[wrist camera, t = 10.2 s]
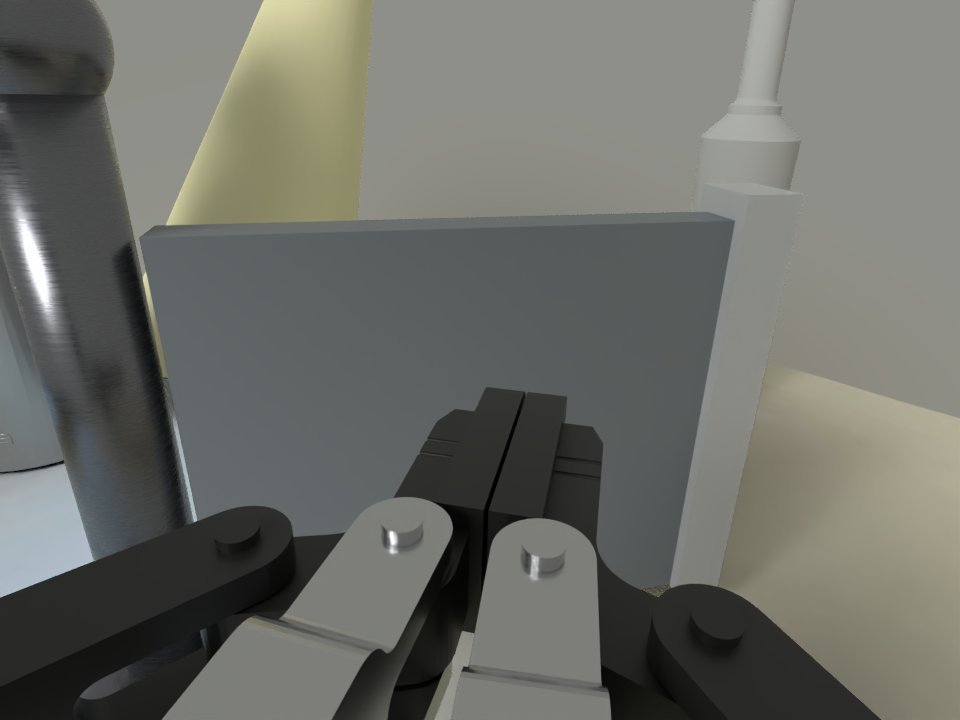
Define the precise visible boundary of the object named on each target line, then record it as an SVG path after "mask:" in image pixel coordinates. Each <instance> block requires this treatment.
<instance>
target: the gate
mask: <svg viewBox="0 0 960 720" xmlns="http://www.w3.org/2000/svg"><path fill="white" fill-rule="evenodd" d="M803 199H804V194H801V193H797V192H792V191H788V190H783V189H779V188H774V187H770V186H765V185H760V184H756V183H721V184H704V186H703V192H702V199H701V205H700V212H676V213H635V214H599V215H598V214H597V215H596V214H595V215H560V216H559V215H556V216H520V217H519V216H518V217H517V216H516V217H477V218H439V219H438V218H437V219H399V220H359V221H319V222H280V223H240V224H201V225H162V226H154V227H153V228H152V229H150V230H149V231H147V232H146V233H145V234H144V235H142V236H141V237H140V238H139V239H140V244H141V249H142V254H143V259H144V263H145V269H146V273H147V278H148V283H149V288H150V293H151V298H152V302H153V307H154V312H155V317H156V322H157V327H158V332H159V336H160V341H161V346H162V351H163V356H164V361H165V365H166V370H167V375H168V380H169V385H170V390H171V394H172V399H173V404H174V409H175V414H176V419H177V424H178V428H179V433H180V438H181V443H182V448H183V453H184V457H185V462H186V467H187V472H188V477H189V482H190V486H191V491H192V496H193V501H194V506H195V511H196V516H197V520H198V521H199V520H202V519H204V518H207V517H209V516H212V515H214V514H217V513H220V512H222V511H225V510H228V509H232V508H236V507H243V506H265V507H270V508H273V509H276V510H278V511H280V512H282V513H283V514H284V515H286V516H287V517H288V519H289V520H290V522H291V525H292V530H293V537H299V536H314V535H329V534H338V533H343V532H347V530H348V529H349V528H350V526H351V525H352V524H353V522H354V521H355V520H356V518H357V517H358V516H359V515H360V514H361V513H362V512H363V511H364V510H366V509H367V508H368V507H370V506H372V505H374V504H376V503H378V502H381V501H384V500H387V499H392V498H394V496H395V494H396V492H397V491H398V489H399V487H400V485H401V484H402V482H403V480H404V478H405V476H406V475H407V473H408V471H409V469H410V468H411V466H412V464H413V462H414V461H415V459H416V457H417V455H418V454H420V450H421V448H422V446H423V445H424V443H425V441H427V439H428V436H429V434H430V432H431V431H432V429H433V427H434V425H435V423H436V422H437V421H438V420H439V419H441V418H442V417H444V416H445V415H447V414H448V413H450V412H451V411H453V410H454V409H460V410H468V411H475V409H476V407H477V405H478V403H479V401H480V399H481V396H482V394H483V392H484V390H485V388H486V387H492V388H501V389H509V390H517V391H525V393H526V395H527V393H528V392H534V393H542V394H550V395H558V396H567V409H566V419H565V423H568V424H575V425H583V426H591V427H593V428H594V429H595V431H596V433H597V434H598V436H599V437H600V439H601V441H602V442H603V457H602V471H601V484H600V497H599V511H598V524H597V537H596V542H597V548H598V552H599V554H600V556H601V558H602V560H603V561H604V563H605V564H606V566H607V567H608V568H609V569H610V570H611V571H612V572H613V573H614V574H615V575H617V576H618V577H619V578H620V579H622V580H623V581H625V582H626V583H628V584H630V585H632V586H634V587H636V588H638V589H647V588H653V587H659V586H665V585H670V586H671V588H673V587H676V586H679V585H684V584H706V585H712V586H716V587H717V586H718V583H719V578H720V574H721V569H722V565H723V560H724V556H725V551H726V547H727V542H728V538H729V533H730V529H731V524H732V520H733V515H734V511H735V506H736V502H737V497H738V493H739V488H740V483H741V479H742V474H743V470H744V465H745V461H746V456H747V452H748V447H749V443H750V438H751V434H752V429H753V425H754V420H755V416H756V411H757V407H758V402H759V398H760V393H761V389H762V384H763V380H764V375H765V371H766V366H767V361H768V357H769V352H770V348H771V343H772V339H773V334H774V330H775V325H776V321H777V316H778V312H779V307H780V303H781V298H782V293H783V289H784V285H785V280H786V276H787V271H788V267H789V261H790V258H791V253H792V249H793V244H794V239H795V234H796V230H797V226H798V221H799V217H800V212H801V208H802V203H803Z"/></svg>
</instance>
